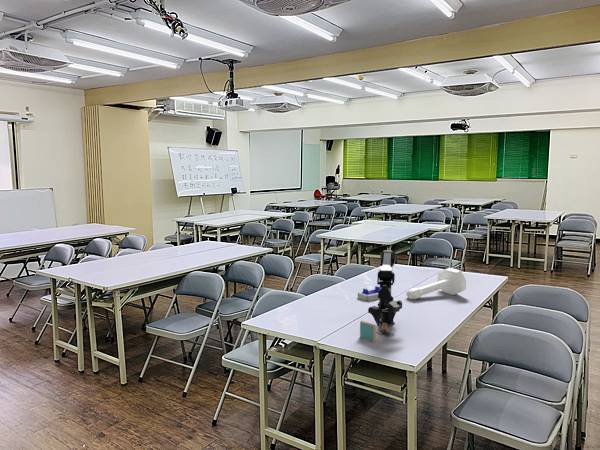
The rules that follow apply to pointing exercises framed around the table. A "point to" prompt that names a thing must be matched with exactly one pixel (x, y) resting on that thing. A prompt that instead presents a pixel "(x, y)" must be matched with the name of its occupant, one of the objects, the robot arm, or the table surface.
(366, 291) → the cable clip
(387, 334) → the float
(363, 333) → the tile
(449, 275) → the white mallet
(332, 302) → the table surface
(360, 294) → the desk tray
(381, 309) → the robot arm
